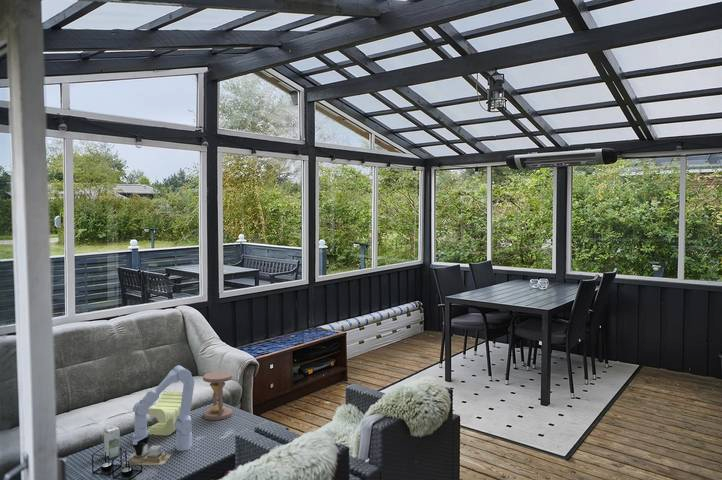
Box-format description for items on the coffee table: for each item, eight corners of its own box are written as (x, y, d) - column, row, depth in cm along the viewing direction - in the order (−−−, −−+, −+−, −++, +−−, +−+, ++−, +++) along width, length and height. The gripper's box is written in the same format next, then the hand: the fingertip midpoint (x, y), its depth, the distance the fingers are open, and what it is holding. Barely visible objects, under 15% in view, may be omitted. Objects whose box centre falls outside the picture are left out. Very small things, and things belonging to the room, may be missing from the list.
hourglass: (202, 411, 350) (202, 372, 349) (231, 409, 355) (231, 370, 354) (203, 421, 333) (203, 380, 332) (233, 418, 338) (233, 377, 337)
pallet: (134, 455, 285) (134, 449, 285) (172, 455, 285) (172, 450, 284) (122, 466, 272) (122, 460, 272) (162, 467, 272) (162, 461, 272)
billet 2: (152, 457, 281) (152, 445, 280) (161, 457, 280) (160, 445, 280) (148, 460, 276) (148, 449, 276) (157, 461, 276) (157, 449, 276)
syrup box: (114, 452, 288) (114, 425, 288) (120, 455, 284) (119, 427, 284) (103, 456, 284) (103, 428, 283) (109, 459, 280) (108, 431, 280)
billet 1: (147, 455, 281) (147, 443, 280) (143, 458, 276) (143, 447, 276) (138, 455, 281) (138, 443, 281) (134, 458, 276) (134, 446, 276)
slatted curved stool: (165, 441, 303) (165, 409, 302) (138, 440, 305) (138, 408, 304) (189, 421, 333) (189, 392, 332) (164, 420, 334) (164, 391, 334)
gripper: (139, 421, 285) (139, 447, 286) (126, 431, 271) (126, 459, 271) (152, 421, 285) (153, 447, 286) (140, 432, 271) (140, 459, 271)
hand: (141, 453), depth 278 cm, fingers open, 5 cm apart
